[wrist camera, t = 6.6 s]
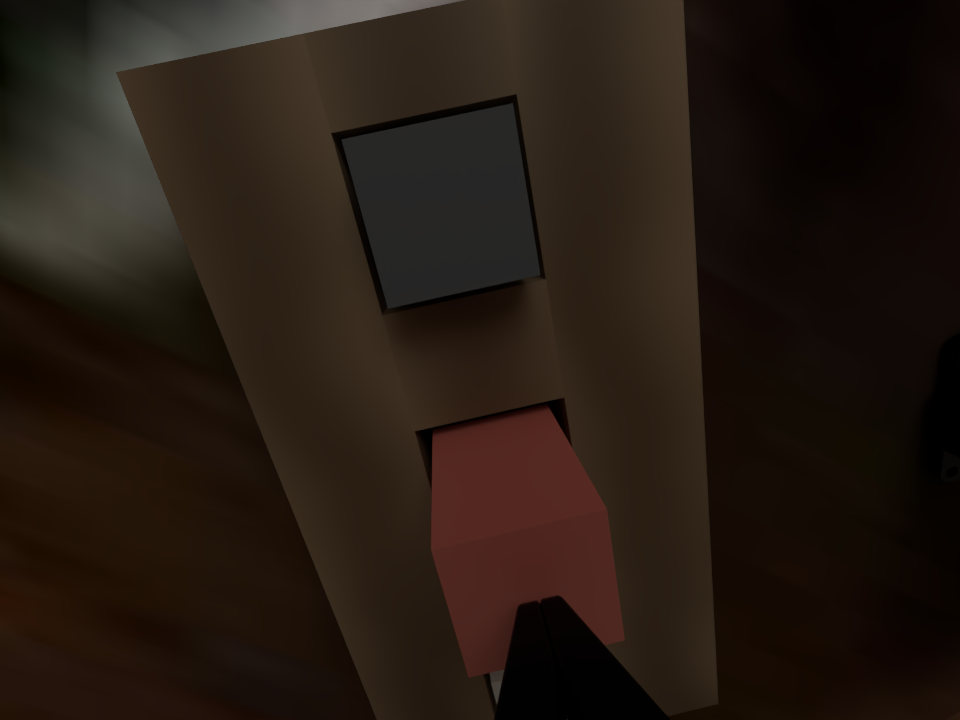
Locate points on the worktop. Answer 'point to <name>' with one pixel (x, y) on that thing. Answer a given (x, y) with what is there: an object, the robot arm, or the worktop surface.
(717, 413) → the worktop surface
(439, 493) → the plug red
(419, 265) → the gray rectangular block
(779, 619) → the worktop surface
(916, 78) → the worktop surface
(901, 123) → the worktop surface
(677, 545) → the block
